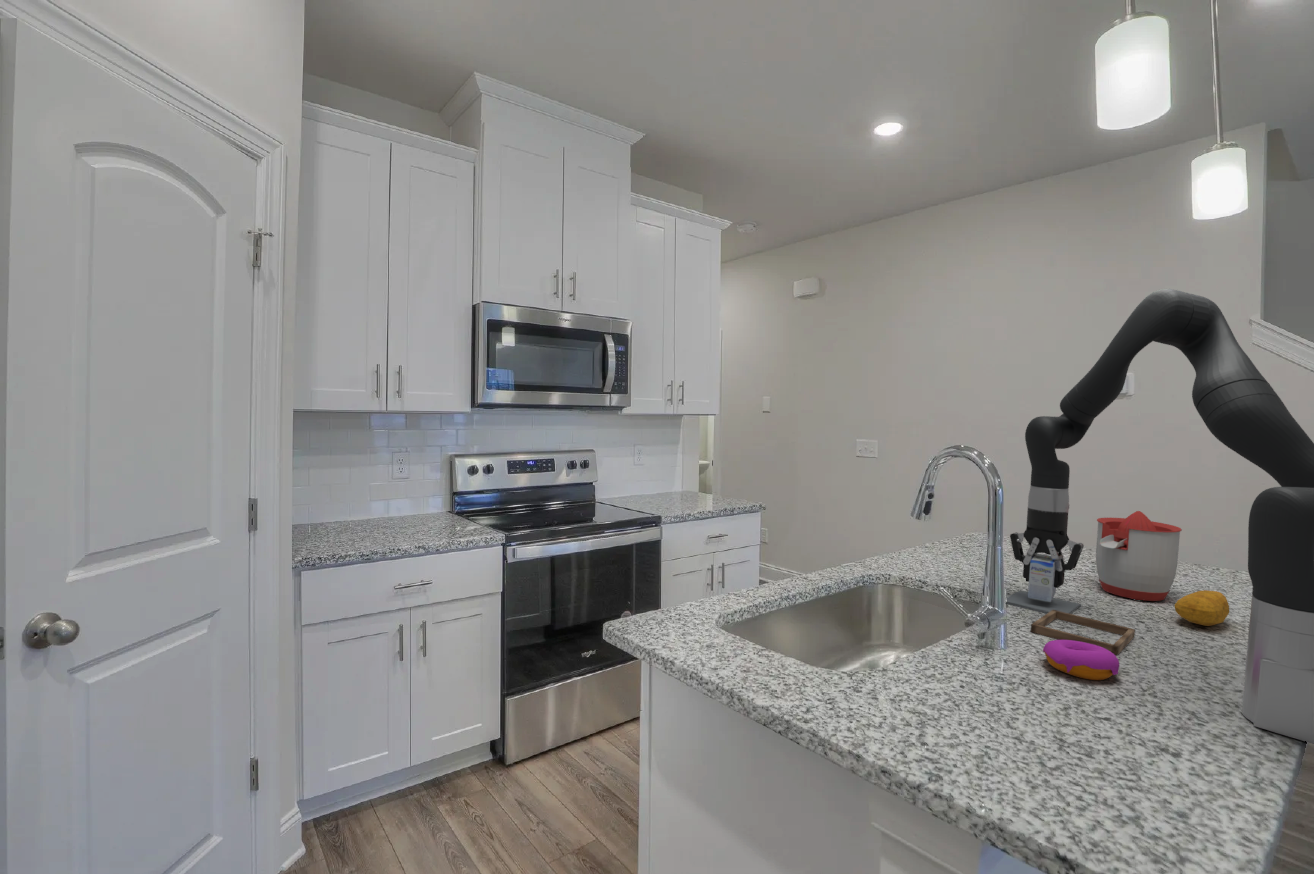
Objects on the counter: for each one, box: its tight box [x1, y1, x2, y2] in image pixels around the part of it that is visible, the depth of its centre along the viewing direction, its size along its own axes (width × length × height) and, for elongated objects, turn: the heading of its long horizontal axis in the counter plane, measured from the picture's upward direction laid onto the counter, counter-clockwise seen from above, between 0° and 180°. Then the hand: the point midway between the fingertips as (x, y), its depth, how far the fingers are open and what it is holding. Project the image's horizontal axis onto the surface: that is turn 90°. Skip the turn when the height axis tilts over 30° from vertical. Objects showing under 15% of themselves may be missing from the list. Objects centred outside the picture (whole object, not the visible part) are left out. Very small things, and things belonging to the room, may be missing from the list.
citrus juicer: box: [1095, 510, 1183, 602], centre depth 142 cm, size 16×17×20 cm
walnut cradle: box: [1030, 610, 1136, 656], centre depth 116 cm, size 14×14×2 cm
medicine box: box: [1027, 553, 1057, 602], centre depth 133 cm, size 8×4×9 cm, turn 141°
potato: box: [1173, 589, 1230, 627], centre depth 124 cm, size 8×14×7 cm, turn 123°
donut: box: [1042, 639, 1120, 681], centre depth 100 cm, size 10×10×4 cm
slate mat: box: [1006, 589, 1082, 615], centre depth 133 cm, size 12×12×1 cm
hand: (1042, 583), depth 133 cm, fingers closed on medicine box, 4 cm apart
